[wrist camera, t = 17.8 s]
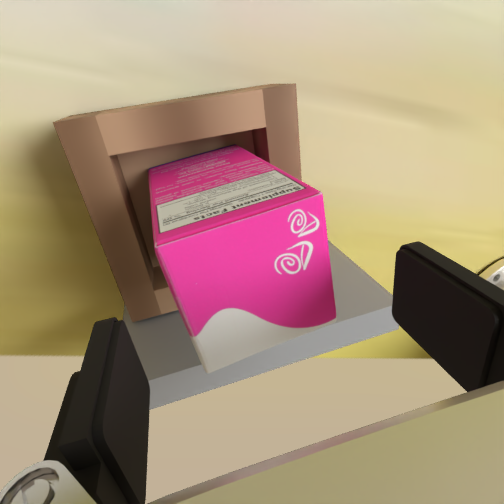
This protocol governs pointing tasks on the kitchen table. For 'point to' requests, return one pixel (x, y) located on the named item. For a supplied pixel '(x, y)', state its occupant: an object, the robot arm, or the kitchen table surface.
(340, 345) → the backstop wall
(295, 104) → the socket block
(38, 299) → the kitchen table surface
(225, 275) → the supplement box
